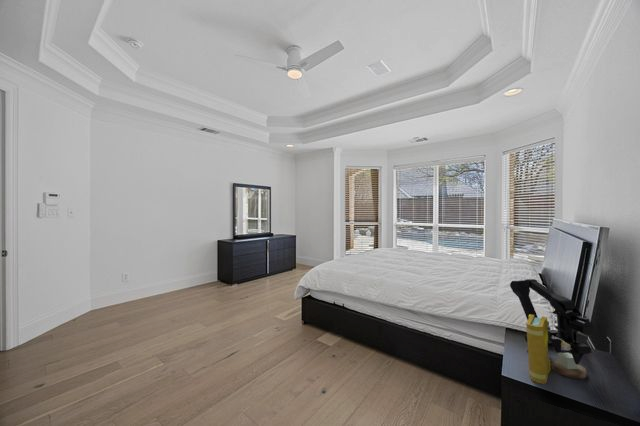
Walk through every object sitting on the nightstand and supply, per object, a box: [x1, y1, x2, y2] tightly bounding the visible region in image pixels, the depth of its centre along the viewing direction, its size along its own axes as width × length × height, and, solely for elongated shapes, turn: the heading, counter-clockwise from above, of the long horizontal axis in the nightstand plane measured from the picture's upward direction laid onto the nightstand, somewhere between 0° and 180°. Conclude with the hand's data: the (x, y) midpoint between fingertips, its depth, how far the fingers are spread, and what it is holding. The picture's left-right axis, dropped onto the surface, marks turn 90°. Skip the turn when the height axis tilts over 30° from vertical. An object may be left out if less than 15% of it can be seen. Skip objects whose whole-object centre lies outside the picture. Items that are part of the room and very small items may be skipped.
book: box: [526, 314, 552, 385], centre depth 122 cm, size 17×7×25 cm, turn 134°
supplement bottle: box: [552, 323, 571, 351], centre depth 145 cm, size 7×7×13 cm
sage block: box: [557, 352, 580, 369], centre depth 123 cm, size 5×5×5 cm
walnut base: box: [550, 358, 587, 380], centre depth 123 cm, size 12×12×2 cm
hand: (567, 359), depth 123 cm, fingers open, 9 cm apart
